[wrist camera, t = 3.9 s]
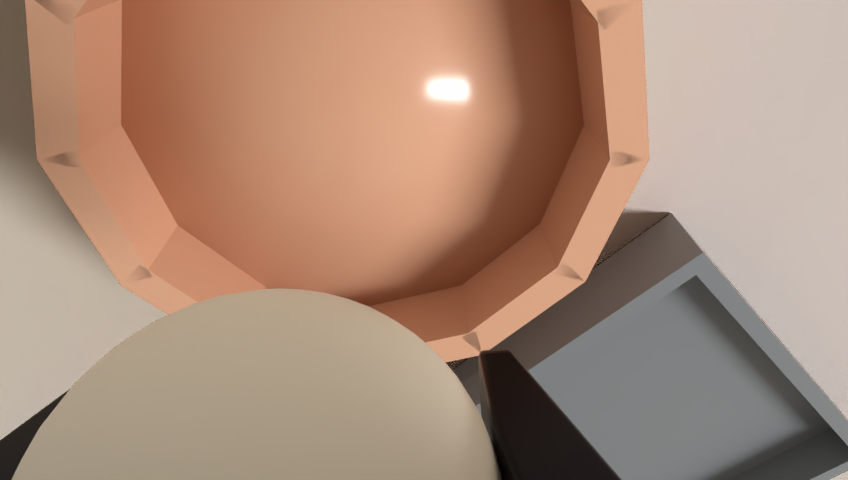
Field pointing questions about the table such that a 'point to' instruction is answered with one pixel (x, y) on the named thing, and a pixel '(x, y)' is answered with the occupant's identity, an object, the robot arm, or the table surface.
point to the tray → (676, 372)
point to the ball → (266, 400)
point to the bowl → (346, 148)
